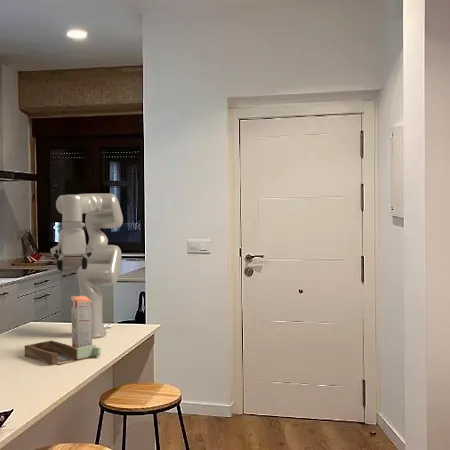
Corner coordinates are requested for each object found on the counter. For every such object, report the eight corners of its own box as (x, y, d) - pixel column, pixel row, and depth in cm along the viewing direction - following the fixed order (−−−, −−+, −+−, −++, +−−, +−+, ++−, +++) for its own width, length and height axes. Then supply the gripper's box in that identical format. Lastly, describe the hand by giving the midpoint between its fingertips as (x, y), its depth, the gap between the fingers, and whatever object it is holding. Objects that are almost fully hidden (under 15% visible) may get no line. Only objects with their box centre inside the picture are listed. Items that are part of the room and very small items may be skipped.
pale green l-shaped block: (94, 354, 216) (94, 344, 216) (100, 356, 213) (100, 346, 213) (76, 358, 210) (76, 348, 210) (82, 360, 207) (82, 350, 207)
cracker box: (71, 348, 228) (70, 296, 228) (86, 346, 231) (85, 295, 230) (76, 356, 216) (76, 301, 215) (92, 354, 218) (92, 299, 217)
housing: (66, 347, 229) (66, 337, 229) (97, 356, 215) (97, 345, 215) (24, 356, 216) (24, 345, 216) (54, 366, 202) (54, 354, 202)
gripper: (89, 226, 232) (89, 268, 232) (47, 226, 222) (47, 270, 222) (96, 226, 226) (97, 269, 226) (54, 226, 216) (54, 271, 216)
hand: (72, 269), depth 224 cm, fingers open, 9 cm apart
